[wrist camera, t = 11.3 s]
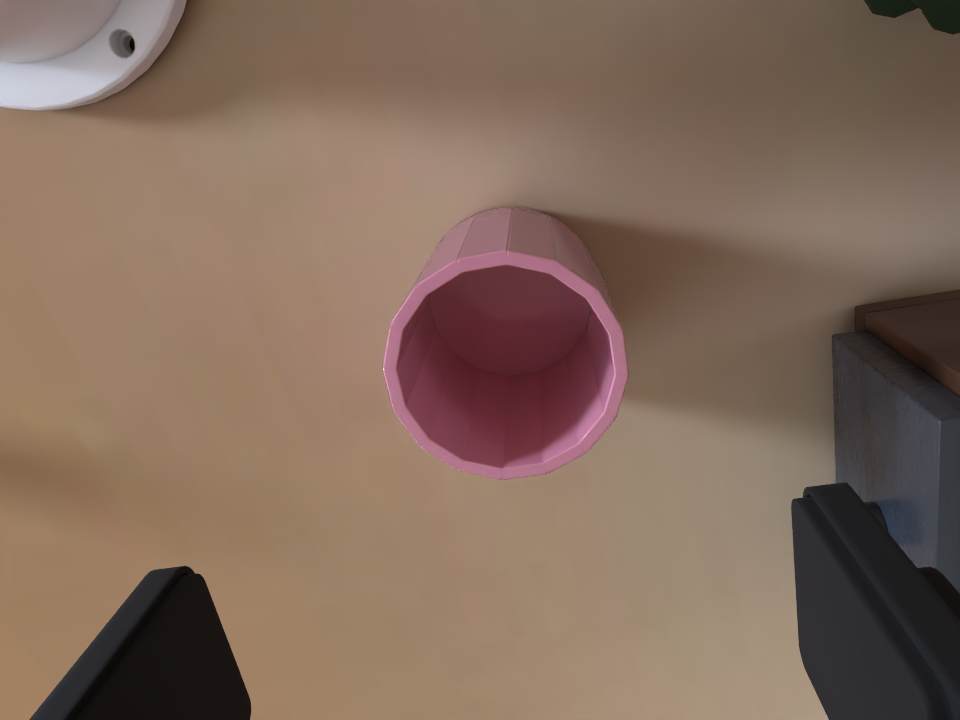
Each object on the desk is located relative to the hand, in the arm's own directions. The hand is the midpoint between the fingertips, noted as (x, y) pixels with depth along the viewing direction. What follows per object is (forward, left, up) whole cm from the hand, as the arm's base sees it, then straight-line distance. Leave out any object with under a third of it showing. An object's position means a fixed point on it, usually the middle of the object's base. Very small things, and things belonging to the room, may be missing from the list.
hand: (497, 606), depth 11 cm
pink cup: (0, 0, -18) cm, 18 cm away
